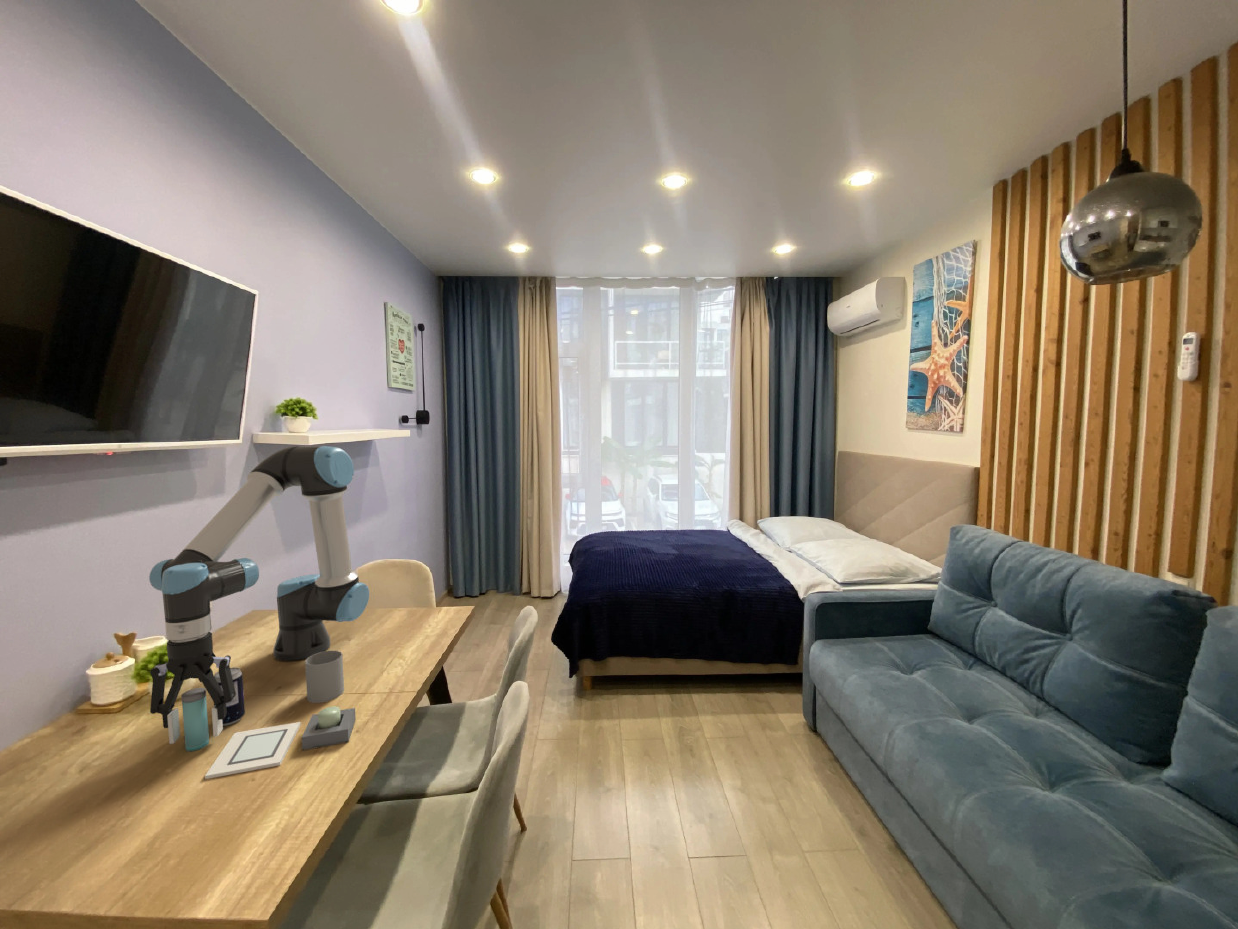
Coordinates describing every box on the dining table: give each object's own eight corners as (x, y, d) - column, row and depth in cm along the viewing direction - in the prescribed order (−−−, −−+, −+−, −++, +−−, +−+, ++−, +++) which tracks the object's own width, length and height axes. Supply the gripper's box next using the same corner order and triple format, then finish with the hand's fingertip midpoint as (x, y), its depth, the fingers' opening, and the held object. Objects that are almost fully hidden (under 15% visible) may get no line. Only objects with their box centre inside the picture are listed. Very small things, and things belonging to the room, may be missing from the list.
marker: (190, 742, 113) (186, 689, 112) (212, 738, 114) (209, 686, 113) (181, 753, 109) (177, 699, 108) (204, 749, 110) (200, 695, 109)
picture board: (235, 735, 115) (234, 732, 115) (300, 724, 119) (300, 721, 119) (204, 779, 101) (204, 775, 101) (280, 765, 105) (280, 761, 105)
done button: (321, 721, 116) (320, 708, 116) (342, 718, 118) (341, 705, 117) (316, 732, 112) (315, 718, 112) (338, 728, 114) (337, 715, 113)
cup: (327, 704, 127) (325, 666, 127) (299, 701, 129) (297, 663, 128) (351, 687, 136) (349, 651, 135) (324, 684, 137) (322, 649, 137)
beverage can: (250, 716, 122) (247, 668, 122) (226, 729, 117) (222, 680, 116) (234, 712, 124) (231, 665, 123) (209, 725, 119) (206, 676, 118)
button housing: (312, 727, 118) (312, 714, 118) (355, 719, 121) (355, 707, 121) (302, 750, 109) (301, 737, 109) (348, 742, 112) (347, 729, 112)
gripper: (120, 649, 103) (129, 756, 104) (237, 636, 109) (244, 737, 111) (141, 635, 110) (149, 735, 111) (250, 623, 116) (256, 718, 118)
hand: (196, 736), depth 111 cm, fingers open, 7 cm apart
